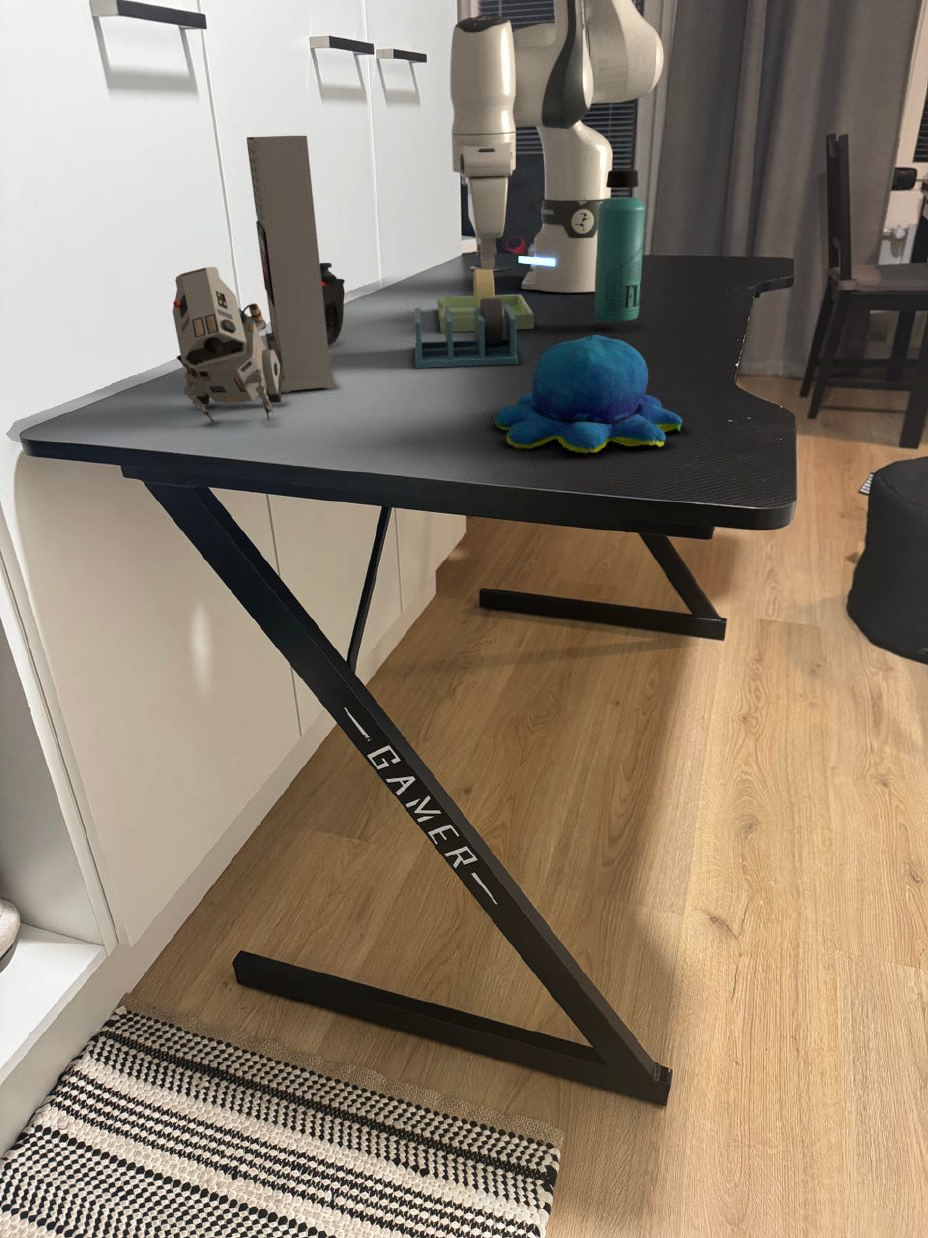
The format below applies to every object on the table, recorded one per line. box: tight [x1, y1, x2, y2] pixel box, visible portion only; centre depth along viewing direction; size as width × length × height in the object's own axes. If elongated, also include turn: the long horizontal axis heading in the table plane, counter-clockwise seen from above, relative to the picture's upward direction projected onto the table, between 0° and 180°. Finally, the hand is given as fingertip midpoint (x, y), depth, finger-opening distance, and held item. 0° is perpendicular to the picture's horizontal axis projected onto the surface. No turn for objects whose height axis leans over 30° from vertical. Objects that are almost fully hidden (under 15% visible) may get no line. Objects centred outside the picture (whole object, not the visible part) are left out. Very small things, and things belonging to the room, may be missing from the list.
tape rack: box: [414, 305, 519, 369], centre depth 110 cm, size 11×12×5 cm
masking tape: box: [472, 268, 495, 308], centre depth 132 cm, size 6×3×6 cm, turn 4°
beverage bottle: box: [592, 168, 646, 322], centre depth 120 cm, size 6×7×20 cm
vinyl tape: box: [480, 298, 504, 347], centre depth 110 cm, size 6×2×6 cm, turn 4°
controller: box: [320, 262, 346, 346], centre depth 117 cm, size 4×12×10 cm, turn 163°
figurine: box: [172, 266, 283, 422], centre depth 87 cm, size 9×12×15 cm
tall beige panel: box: [246, 135, 334, 394], centre depth 98 cm, size 14×6×25 cm, turn 15°
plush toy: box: [494, 334, 683, 454], centre depth 82 cm, size 17×17×8 cm
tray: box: [437, 293, 535, 333], centre depth 132 cm, size 17×13×2 cm
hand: (485, 262), depth 130 cm, fingers open, 8 cm apart
